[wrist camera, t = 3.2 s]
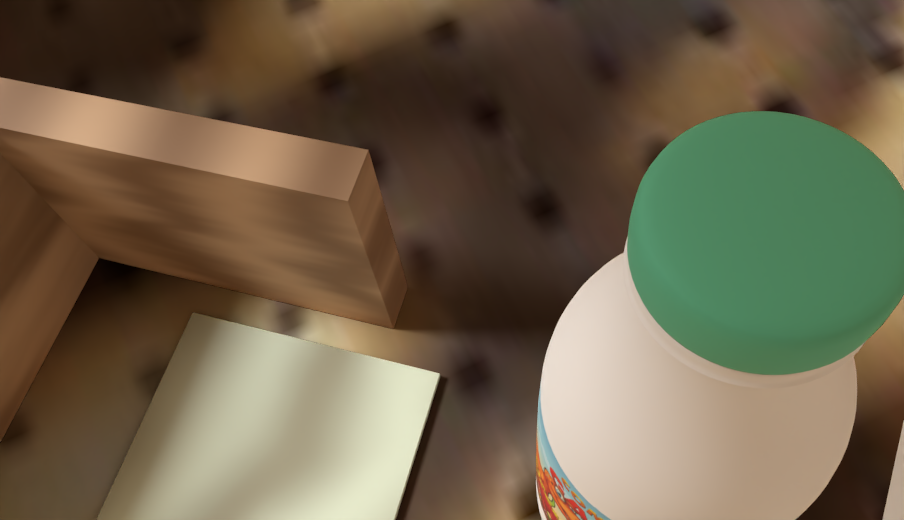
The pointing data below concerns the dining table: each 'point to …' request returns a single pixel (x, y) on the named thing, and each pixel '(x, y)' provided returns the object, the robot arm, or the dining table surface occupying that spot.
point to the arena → (207, 338)
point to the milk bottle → (723, 329)
